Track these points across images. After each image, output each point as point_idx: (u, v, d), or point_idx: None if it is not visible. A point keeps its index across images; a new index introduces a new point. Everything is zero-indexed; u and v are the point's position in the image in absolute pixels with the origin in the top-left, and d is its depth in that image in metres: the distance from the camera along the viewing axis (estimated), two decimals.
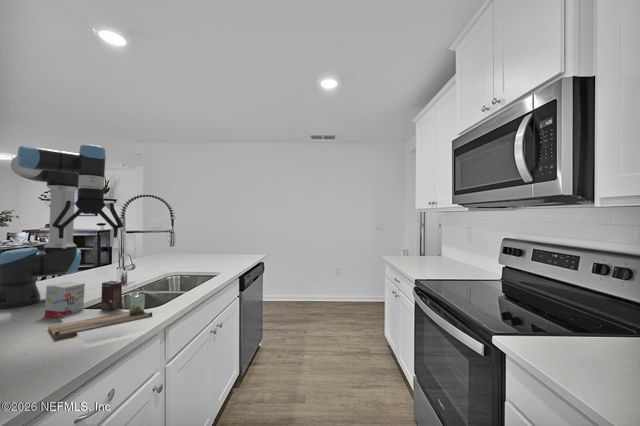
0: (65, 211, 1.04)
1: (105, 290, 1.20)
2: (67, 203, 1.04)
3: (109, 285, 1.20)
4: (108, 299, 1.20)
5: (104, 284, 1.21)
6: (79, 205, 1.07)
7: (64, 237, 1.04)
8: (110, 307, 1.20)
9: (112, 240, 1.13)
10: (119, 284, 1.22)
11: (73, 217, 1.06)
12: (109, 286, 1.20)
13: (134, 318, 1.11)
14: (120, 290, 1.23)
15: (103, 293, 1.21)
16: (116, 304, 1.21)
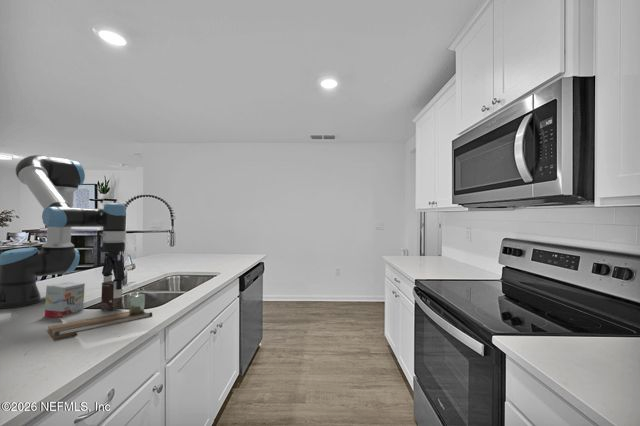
0: (104, 261, 1.26)
1: (105, 290, 1.20)
2: (105, 255, 1.26)
3: (109, 285, 1.20)
4: (108, 299, 1.20)
5: (104, 284, 1.21)
6: None
7: None
8: (110, 307, 1.20)
9: None
10: None
11: (106, 267, 1.25)
12: (109, 286, 1.20)
13: (134, 318, 1.11)
14: None
15: (103, 293, 1.21)
16: (116, 304, 1.21)
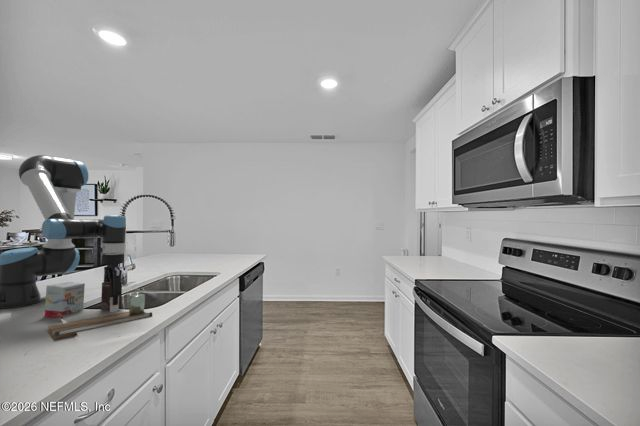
0: (104, 276, 1.25)
1: (105, 290, 1.20)
2: (104, 269, 1.26)
3: (109, 285, 1.20)
4: (107, 299, 1.20)
5: (104, 283, 1.21)
6: None
7: None
8: None
9: (110, 307, 1.19)
10: None
11: (106, 281, 1.24)
12: (109, 286, 1.20)
13: (134, 318, 1.11)
14: None
15: (103, 293, 1.21)
16: None
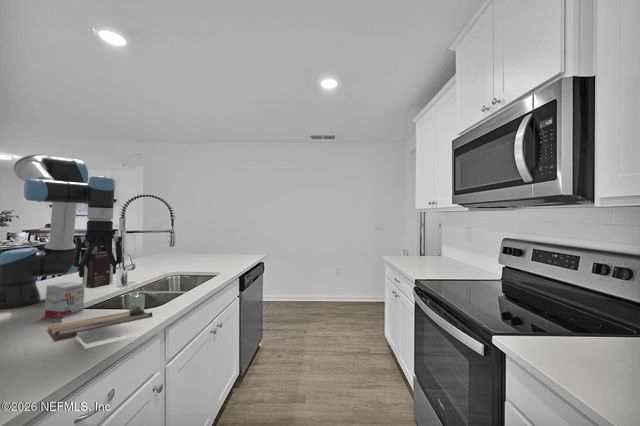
0: (79, 248, 1.03)
1: (101, 261, 1.07)
2: (78, 240, 1.03)
3: (106, 254, 1.09)
4: (104, 270, 1.08)
5: (99, 254, 1.06)
6: (89, 238, 1.05)
7: (85, 276, 1.04)
8: (107, 277, 1.09)
9: (111, 277, 1.10)
10: None
11: (89, 253, 1.05)
12: (106, 256, 1.09)
13: (134, 318, 1.11)
14: None
15: (97, 265, 1.06)
16: None
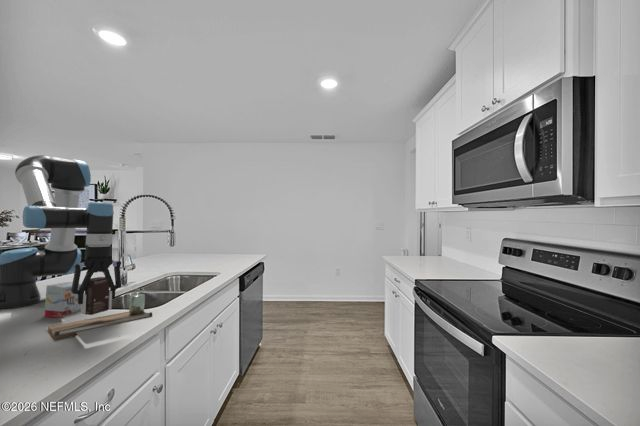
0: (78, 275, 1.03)
1: (100, 287, 1.07)
2: (76, 267, 1.03)
3: (105, 280, 1.09)
4: (103, 295, 1.08)
5: (98, 280, 1.06)
6: (88, 264, 1.05)
7: (84, 302, 1.04)
8: (106, 303, 1.09)
9: (110, 302, 1.10)
10: None
11: (88, 279, 1.05)
12: (105, 281, 1.08)
13: (134, 318, 1.11)
14: None
15: (96, 292, 1.06)
16: None
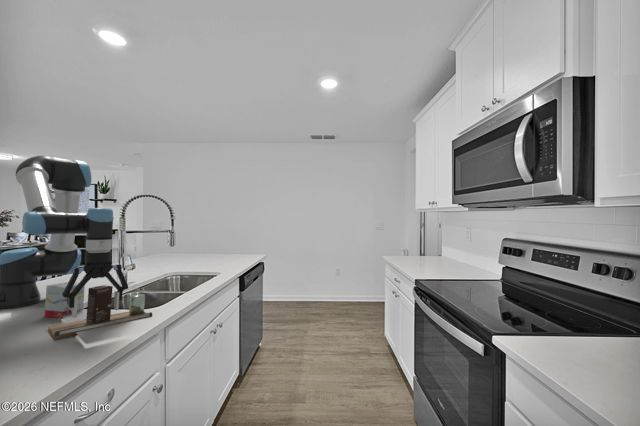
0: (74, 279, 1.02)
1: (102, 296, 1.07)
2: (75, 271, 1.02)
3: (108, 288, 1.09)
4: (105, 304, 1.09)
5: (101, 289, 1.07)
6: (87, 270, 1.05)
7: (75, 306, 1.02)
8: (108, 312, 1.10)
9: (117, 303, 1.12)
10: None
11: (83, 284, 1.04)
12: (108, 290, 1.09)
13: (134, 318, 1.11)
14: None
15: (99, 301, 1.06)
16: None
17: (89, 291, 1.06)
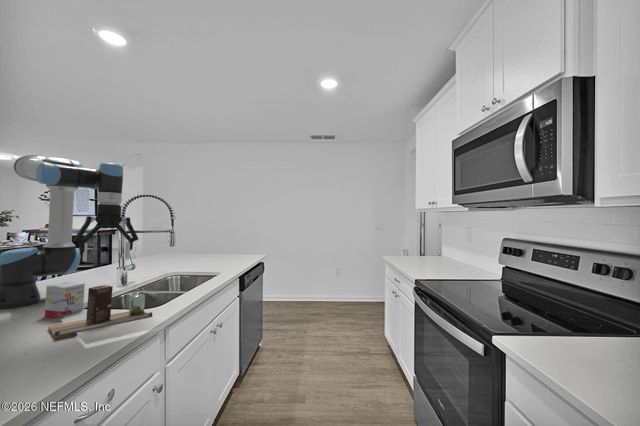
0: (86, 226, 1.10)
1: (102, 296, 1.07)
2: (88, 219, 1.10)
3: (108, 288, 1.09)
4: (105, 304, 1.09)
5: (101, 289, 1.07)
6: (99, 220, 1.13)
7: (85, 251, 1.10)
8: (108, 312, 1.10)
9: (128, 253, 1.20)
10: None
11: (93, 232, 1.12)
12: (108, 290, 1.09)
13: (134, 318, 1.11)
14: None
15: (99, 301, 1.06)
16: None
17: (89, 291, 1.06)
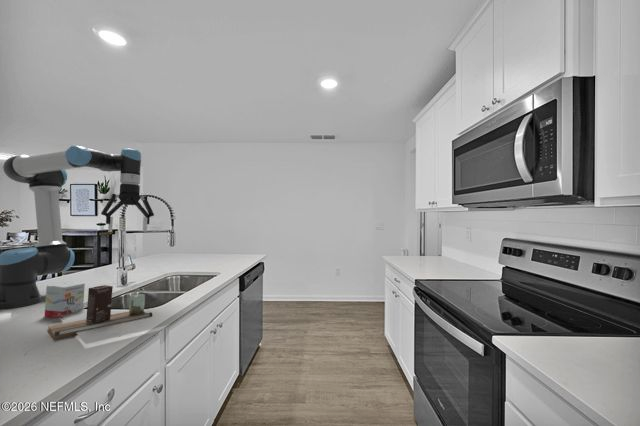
0: (112, 202, 1.30)
1: (102, 296, 1.07)
2: (113, 196, 1.30)
3: (108, 288, 1.09)
4: (105, 304, 1.09)
5: (101, 289, 1.07)
6: (122, 197, 1.33)
7: (111, 223, 1.29)
8: (108, 312, 1.10)
9: (146, 226, 1.40)
10: None
11: (117, 207, 1.31)
12: (108, 290, 1.09)
13: (134, 318, 1.11)
14: None
15: (99, 301, 1.06)
16: None
17: (89, 291, 1.06)
